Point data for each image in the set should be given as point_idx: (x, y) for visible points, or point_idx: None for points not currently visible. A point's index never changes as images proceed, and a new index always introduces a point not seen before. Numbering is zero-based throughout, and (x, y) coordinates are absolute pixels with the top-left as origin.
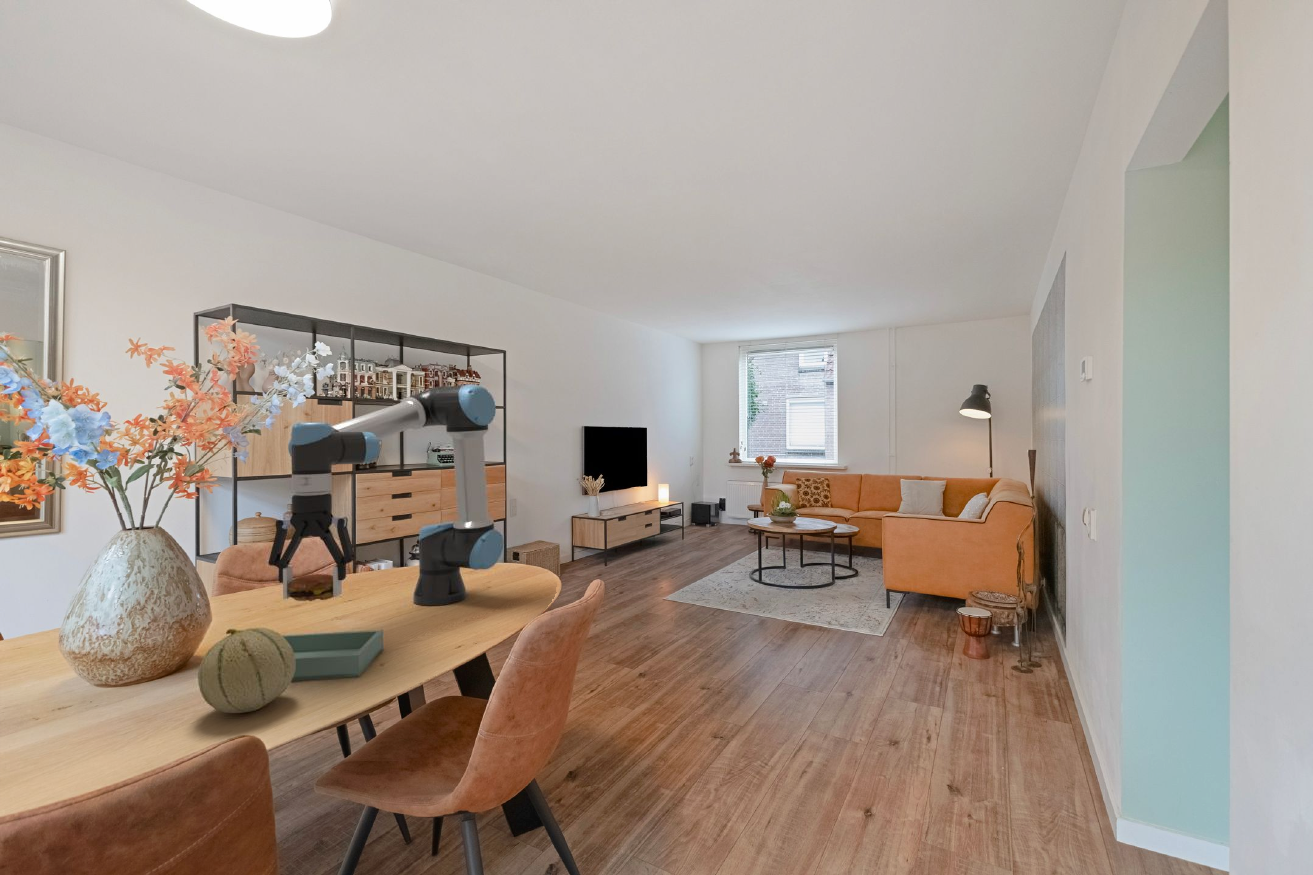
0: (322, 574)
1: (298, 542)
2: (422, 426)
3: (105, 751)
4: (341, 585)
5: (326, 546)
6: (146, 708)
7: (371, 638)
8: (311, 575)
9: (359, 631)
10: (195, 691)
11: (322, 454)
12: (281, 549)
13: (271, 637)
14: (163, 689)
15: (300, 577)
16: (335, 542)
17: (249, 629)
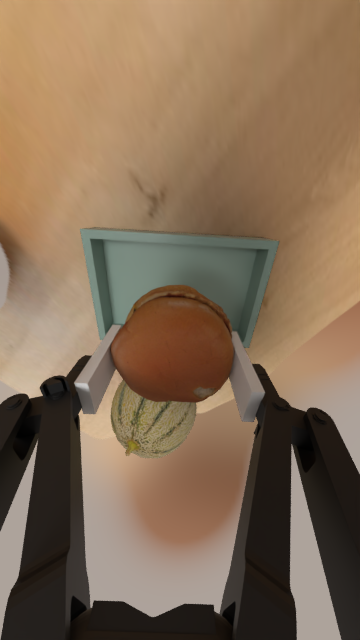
0: (189, 348)
1: (78, 533)
2: None
3: (98, 410)
4: (241, 344)
5: (240, 517)
6: (66, 360)
7: (260, 286)
8: (160, 360)
9: (237, 241)
10: (81, 334)
11: None
12: (2, 470)
13: (177, 444)
14: (41, 322)
15: (138, 377)
16: (287, 517)
17: (148, 449)
